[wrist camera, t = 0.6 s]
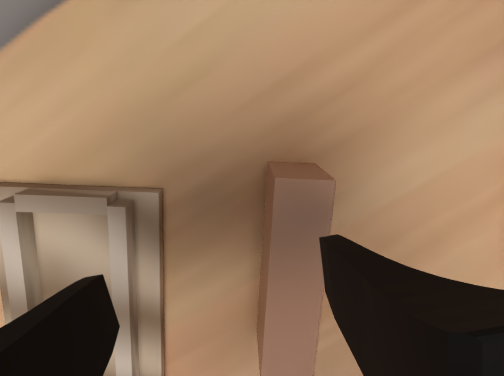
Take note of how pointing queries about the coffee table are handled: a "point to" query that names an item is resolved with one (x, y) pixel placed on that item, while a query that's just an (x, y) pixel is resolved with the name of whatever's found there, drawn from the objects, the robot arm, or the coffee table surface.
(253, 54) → the coffee table surface
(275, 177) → the clay strip
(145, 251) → the framed rectangular tray
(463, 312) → the robot arm
